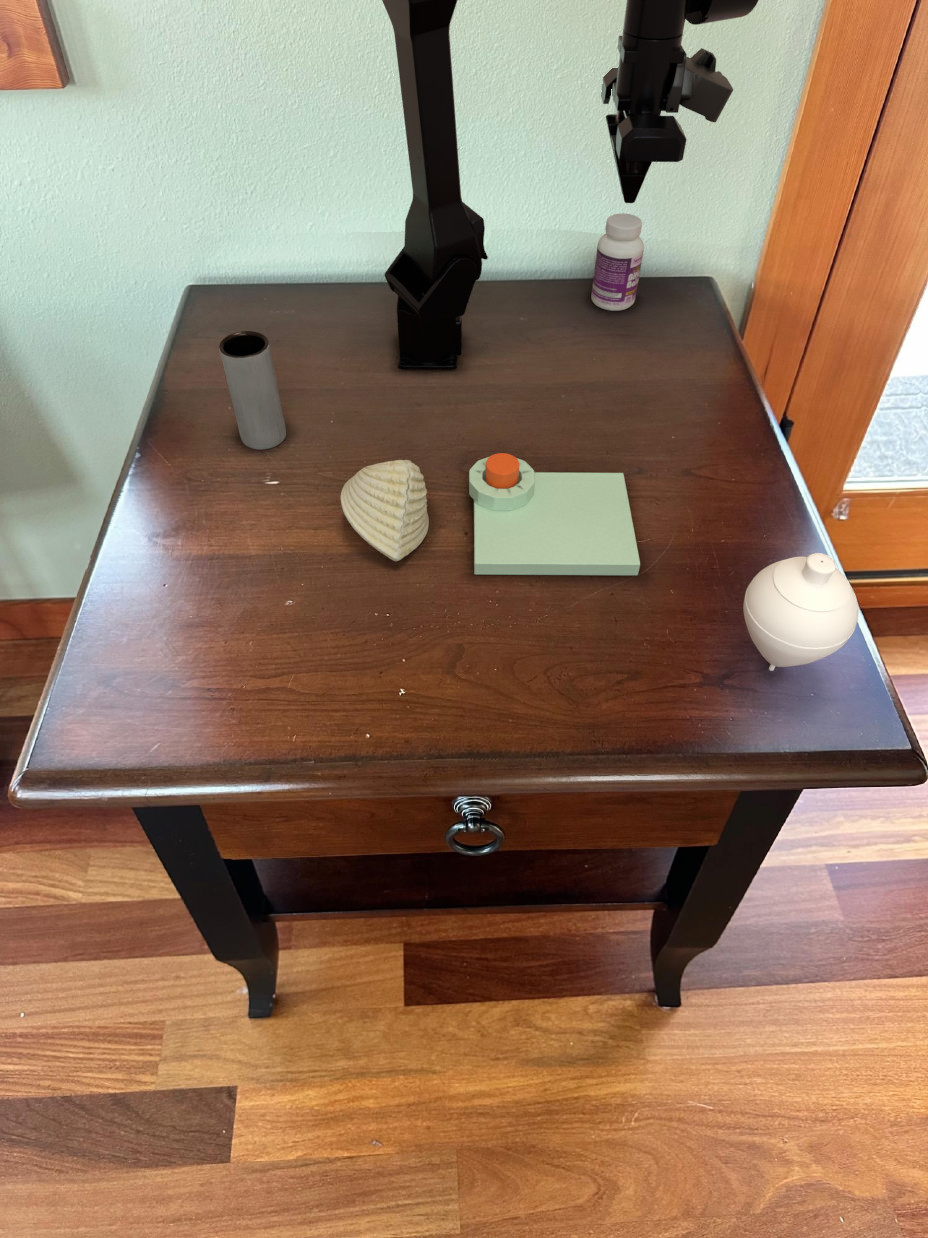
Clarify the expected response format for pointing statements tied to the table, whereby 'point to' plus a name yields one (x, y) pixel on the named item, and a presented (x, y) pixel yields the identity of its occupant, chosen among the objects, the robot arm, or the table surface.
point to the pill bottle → (618, 263)
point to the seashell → (388, 507)
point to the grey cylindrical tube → (253, 389)
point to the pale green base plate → (553, 524)
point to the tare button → (502, 471)
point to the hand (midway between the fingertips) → (628, 198)
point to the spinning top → (800, 610)
